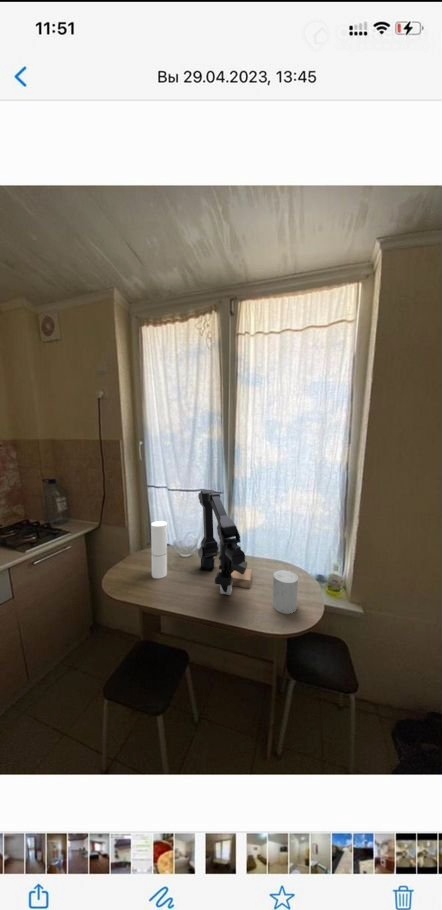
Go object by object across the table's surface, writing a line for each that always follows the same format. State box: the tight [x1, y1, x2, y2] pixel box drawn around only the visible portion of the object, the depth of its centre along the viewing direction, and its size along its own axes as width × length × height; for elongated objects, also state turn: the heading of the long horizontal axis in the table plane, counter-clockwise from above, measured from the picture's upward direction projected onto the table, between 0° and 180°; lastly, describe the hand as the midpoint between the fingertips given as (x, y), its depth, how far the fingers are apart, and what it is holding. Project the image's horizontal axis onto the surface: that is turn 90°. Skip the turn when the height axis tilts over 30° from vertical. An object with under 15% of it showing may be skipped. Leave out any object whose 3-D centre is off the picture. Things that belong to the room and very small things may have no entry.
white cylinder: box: [271, 568, 299, 615], centre depth 99 cm, size 10×10×12 cm
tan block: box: [231, 568, 253, 589], centre depth 115 cm, size 9×9×4 cm
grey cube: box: [219, 577, 233, 596], centre depth 105 cm, size 5×5×5 cm
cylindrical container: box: [150, 520, 168, 579], centre depth 118 cm, size 7×7×25 cm
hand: (226, 588), depth 106 cm, fingers closed on grey cube, 4 cm apart
